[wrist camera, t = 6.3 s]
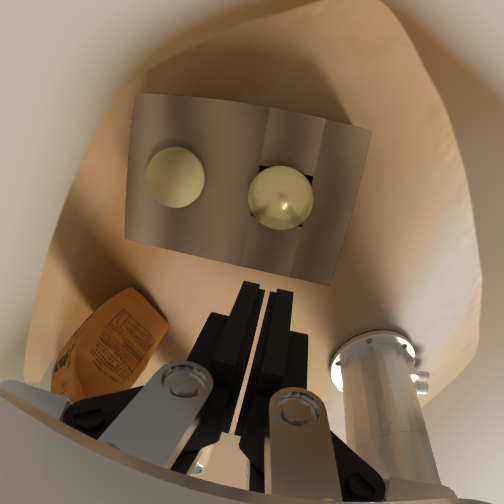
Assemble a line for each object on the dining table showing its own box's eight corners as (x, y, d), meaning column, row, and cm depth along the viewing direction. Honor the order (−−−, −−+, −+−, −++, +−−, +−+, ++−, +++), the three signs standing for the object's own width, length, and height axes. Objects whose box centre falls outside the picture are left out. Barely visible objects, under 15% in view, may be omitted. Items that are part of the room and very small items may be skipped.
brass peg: (315, 162, 30) (320, 174, 23) (304, 211, 32) (305, 236, 25) (264, 152, 30) (254, 160, 23) (255, 200, 33) (242, 222, 26)
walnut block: (354, 129, 29) (374, 131, 21) (324, 251, 35) (330, 290, 27) (170, 97, 30) (131, 92, 22) (157, 215, 36) (120, 242, 28)
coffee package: (88, 306, 44) (4, 398, 24) (136, 275, 40) (35, 386, 20) (127, 353, 47) (61, 454, 27) (179, 330, 43) (111, 456, 23)
